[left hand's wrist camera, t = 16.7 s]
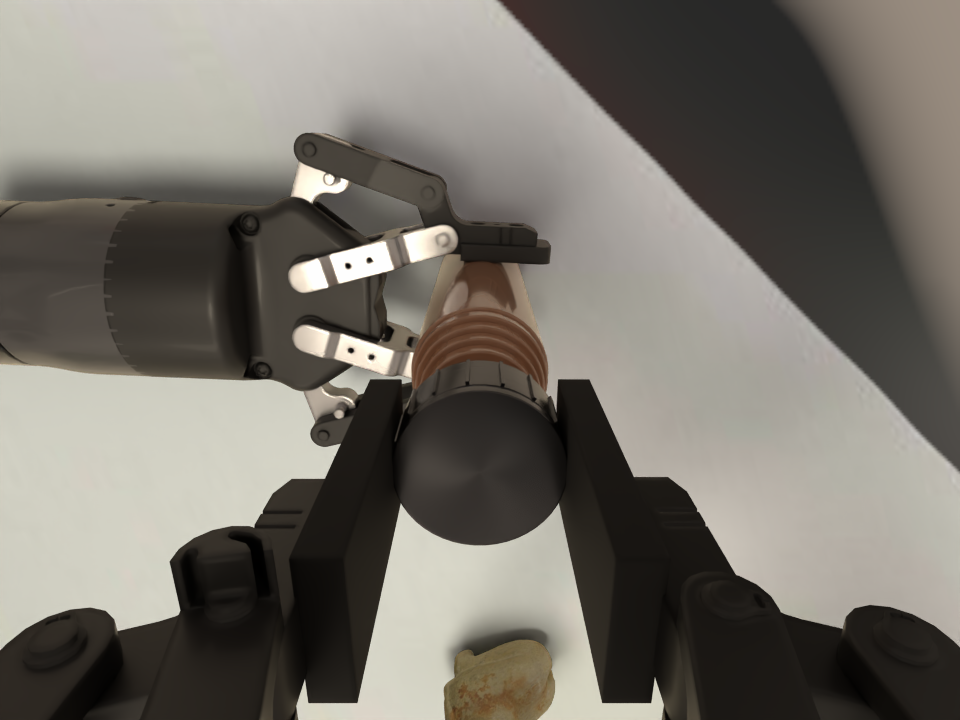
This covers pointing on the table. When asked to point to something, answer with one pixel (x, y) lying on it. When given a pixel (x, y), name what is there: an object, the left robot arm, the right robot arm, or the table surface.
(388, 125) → the table surface
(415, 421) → the cap
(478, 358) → the bottle
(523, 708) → the sculpture
